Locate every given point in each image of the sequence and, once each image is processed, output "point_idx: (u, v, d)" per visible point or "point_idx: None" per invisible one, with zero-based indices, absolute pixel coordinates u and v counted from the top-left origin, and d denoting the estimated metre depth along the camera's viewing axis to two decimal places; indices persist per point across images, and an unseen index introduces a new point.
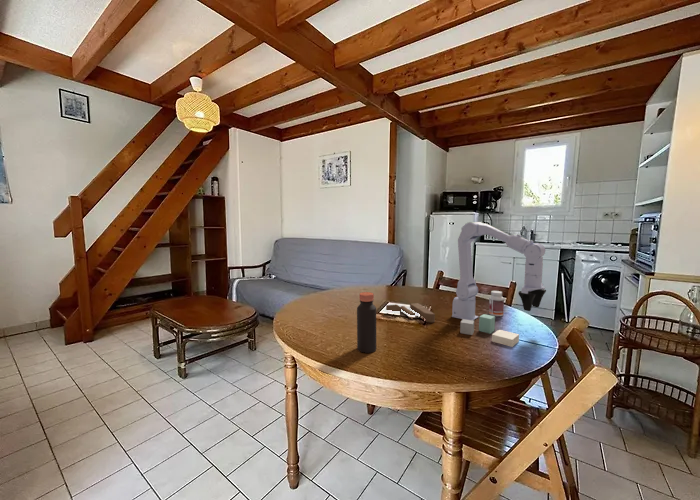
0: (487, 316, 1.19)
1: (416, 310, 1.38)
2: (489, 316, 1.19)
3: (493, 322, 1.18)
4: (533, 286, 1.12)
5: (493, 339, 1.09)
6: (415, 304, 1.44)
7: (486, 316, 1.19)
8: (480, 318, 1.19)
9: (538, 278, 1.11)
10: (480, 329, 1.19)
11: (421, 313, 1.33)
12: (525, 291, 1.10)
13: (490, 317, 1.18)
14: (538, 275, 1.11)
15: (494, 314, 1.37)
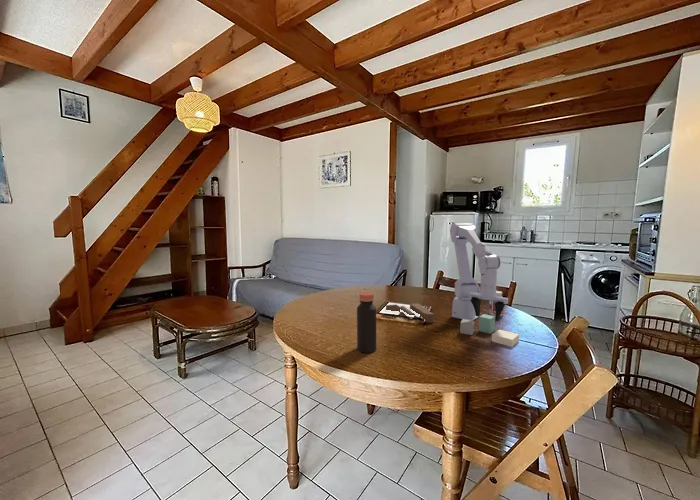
0: (487, 316, 1.19)
1: (416, 310, 1.38)
2: (489, 316, 1.19)
3: (493, 322, 1.18)
4: (480, 294, 1.19)
5: (493, 339, 1.09)
6: (415, 304, 1.43)
7: (486, 316, 1.19)
8: (480, 318, 1.19)
9: (482, 287, 1.17)
10: (480, 329, 1.19)
11: (420, 313, 1.33)
12: None
13: (490, 317, 1.18)
14: (482, 284, 1.17)
15: (494, 314, 1.37)
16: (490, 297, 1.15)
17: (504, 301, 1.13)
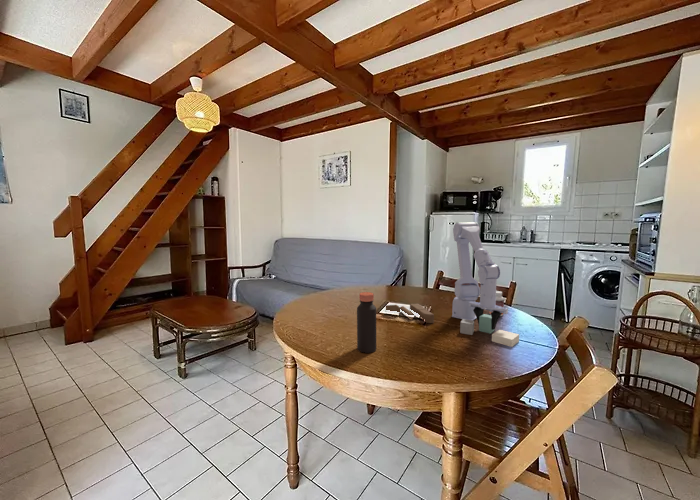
0: (487, 316, 1.19)
1: (415, 310, 1.37)
2: (489, 316, 1.19)
3: None
4: (479, 304, 1.20)
5: (493, 339, 1.09)
6: (415, 304, 1.43)
7: (486, 316, 1.19)
8: (480, 318, 1.19)
9: (481, 297, 1.18)
10: (480, 329, 1.19)
11: (420, 313, 1.33)
12: None
13: (490, 317, 1.18)
14: (481, 294, 1.18)
15: None
16: (490, 307, 1.16)
17: (504, 311, 1.13)
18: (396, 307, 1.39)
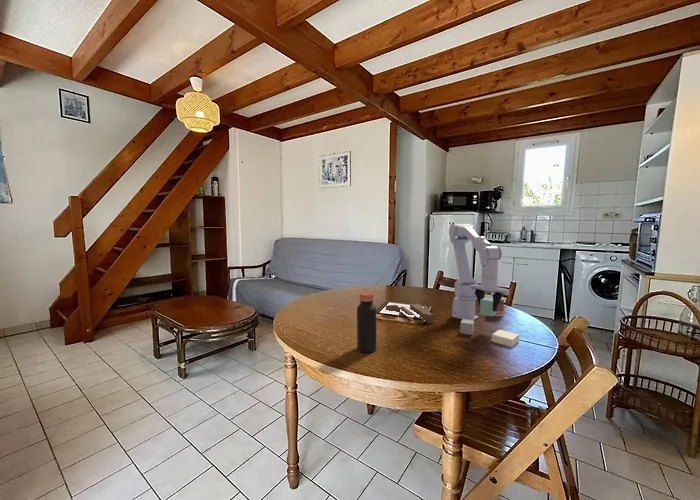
0: (488, 299, 1.18)
1: (415, 311, 1.37)
2: (490, 299, 1.18)
3: None
4: (481, 286, 1.18)
5: (493, 339, 1.09)
6: (415, 305, 1.43)
7: (487, 299, 1.18)
8: (481, 301, 1.18)
9: (483, 279, 1.17)
10: (481, 312, 1.18)
11: (420, 314, 1.32)
12: None
13: (491, 300, 1.17)
14: (482, 276, 1.17)
15: None
16: (491, 288, 1.15)
17: (505, 292, 1.12)
18: (396, 307, 1.39)
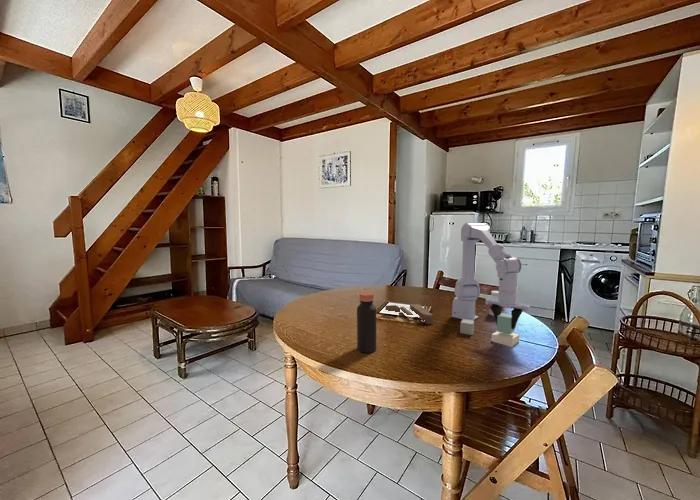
0: (506, 315, 1.08)
1: (415, 311, 1.37)
2: (508, 315, 1.08)
3: None
4: (498, 300, 1.09)
5: (493, 339, 1.09)
6: (415, 305, 1.42)
7: (505, 315, 1.08)
8: (498, 317, 1.08)
9: (500, 293, 1.07)
10: (498, 329, 1.08)
11: (420, 314, 1.32)
12: None
13: (510, 316, 1.07)
14: (500, 290, 1.07)
15: None
16: (510, 304, 1.05)
17: (525, 309, 1.02)
18: (396, 307, 1.39)
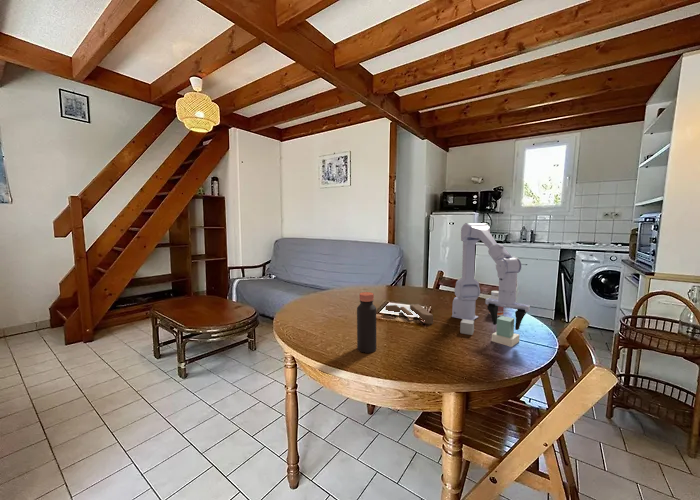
0: (505, 318, 1.08)
1: (415, 311, 1.36)
2: (508, 318, 1.08)
3: (512, 325, 1.07)
4: (498, 300, 1.09)
5: (493, 339, 1.09)
6: (415, 305, 1.42)
7: (504, 318, 1.08)
8: (498, 320, 1.08)
9: (500, 293, 1.07)
10: (498, 332, 1.08)
11: (420, 314, 1.32)
12: None
13: (509, 319, 1.07)
14: (500, 290, 1.07)
15: None
16: (510, 304, 1.05)
17: (525, 309, 1.02)
18: (396, 307, 1.39)
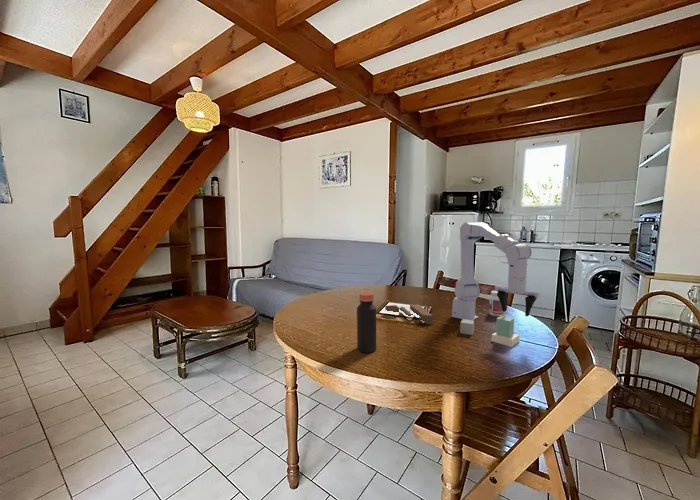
0: (505, 318, 1.09)
1: (415, 311, 1.36)
2: (507, 318, 1.09)
3: (512, 324, 1.08)
4: (507, 287, 1.09)
5: (493, 339, 1.09)
6: (415, 305, 1.42)
7: (504, 318, 1.09)
8: (497, 320, 1.09)
9: (510, 280, 1.07)
10: (498, 332, 1.09)
11: (419, 314, 1.32)
12: None
13: (509, 319, 1.07)
14: (510, 277, 1.07)
15: (494, 314, 1.37)
16: (520, 290, 1.05)
17: (536, 295, 1.02)
18: (395, 307, 1.38)
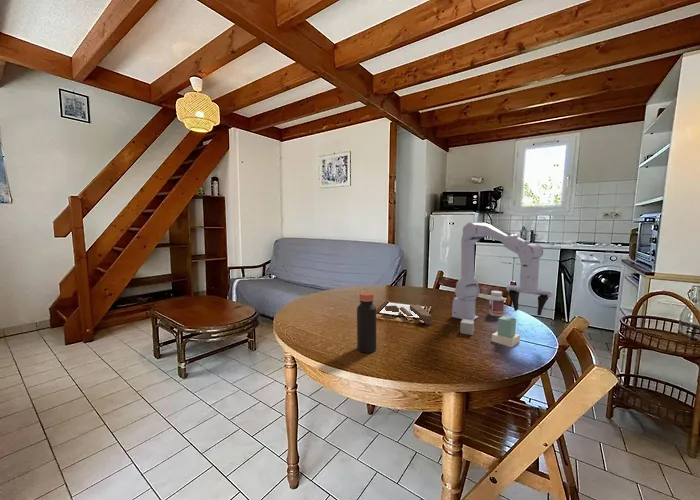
0: (507, 318, 1.08)
1: (414, 311, 1.36)
2: (509, 318, 1.08)
3: (514, 325, 1.07)
4: (519, 287, 1.09)
5: (493, 339, 1.09)
6: (415, 305, 1.41)
7: (506, 318, 1.09)
8: (499, 320, 1.08)
9: (522, 279, 1.07)
10: (499, 332, 1.08)
11: (419, 315, 1.31)
12: None
13: (510, 319, 1.07)
14: (522, 276, 1.07)
15: (494, 314, 1.37)
16: (532, 290, 1.05)
17: (548, 294, 1.03)
18: (395, 308, 1.38)
